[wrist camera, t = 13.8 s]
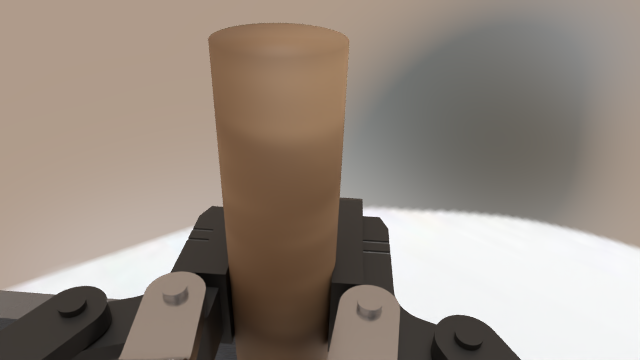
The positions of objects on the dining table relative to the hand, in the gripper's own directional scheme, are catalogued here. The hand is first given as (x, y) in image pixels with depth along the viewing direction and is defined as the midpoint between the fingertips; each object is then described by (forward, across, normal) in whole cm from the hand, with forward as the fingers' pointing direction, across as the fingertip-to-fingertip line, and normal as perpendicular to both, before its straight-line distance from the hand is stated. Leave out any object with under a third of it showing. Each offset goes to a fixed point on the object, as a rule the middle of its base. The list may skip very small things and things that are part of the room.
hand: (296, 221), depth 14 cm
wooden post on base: (-3, 0, +9) cm, 9 cm away
